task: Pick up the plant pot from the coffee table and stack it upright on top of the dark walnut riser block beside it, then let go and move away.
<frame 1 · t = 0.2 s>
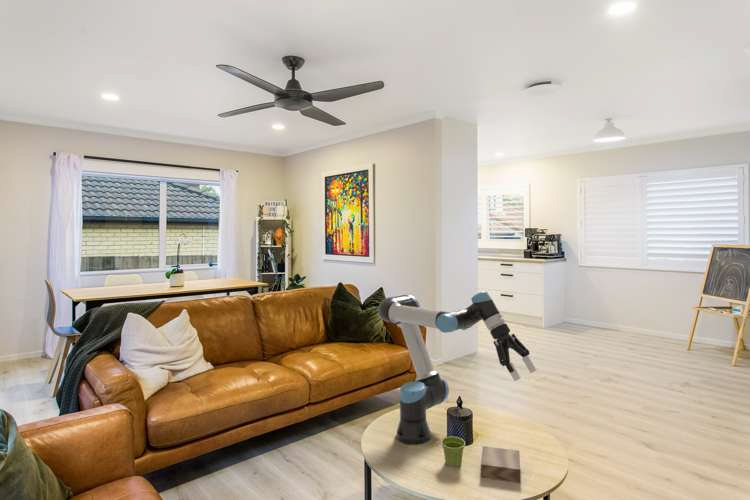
hand: (526, 375, 165), 35 cm above the table, tool tilted 35°, fingers open, 13 cm apart
walnut riser: (500, 470, 163), on the table
plant pot: (453, 464, 168), on the table
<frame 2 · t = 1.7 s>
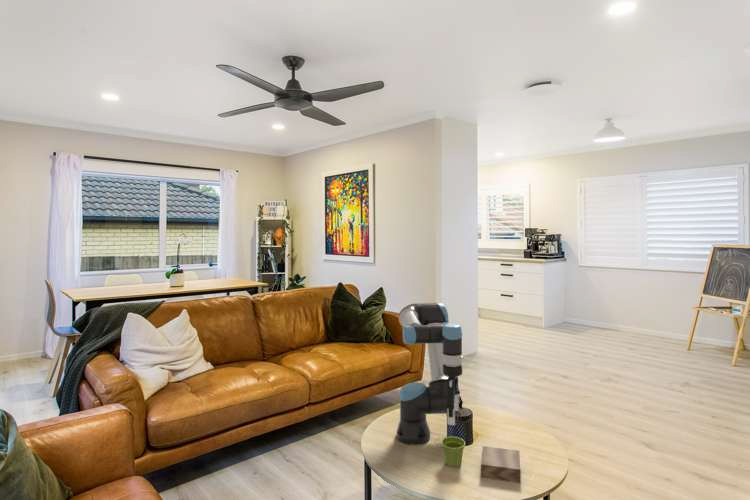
hand: (453, 417, 168), 19 cm above the table, tool pointing down, fingers open, 13 cm apart
nothing on the table moved.
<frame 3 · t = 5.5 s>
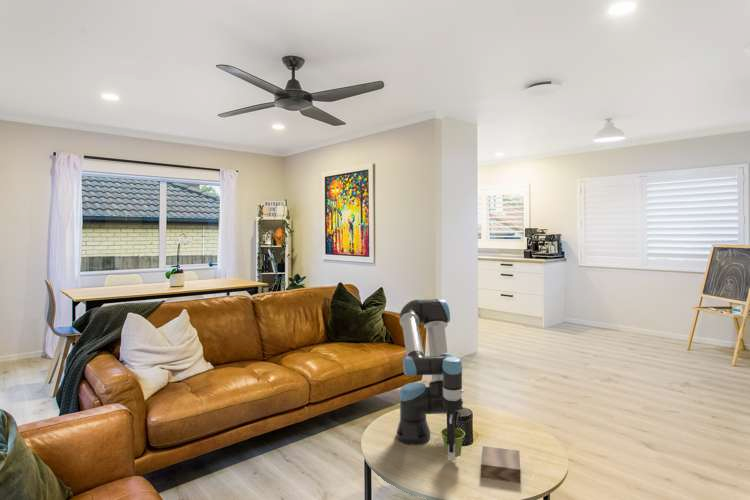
hand: (453, 453, 169), 4 cm above the table, tool pointing down, fingers closed on plant pot, 8 cm apart
plant pot: (452, 454, 169), point 3 cm above the table, touching gripper
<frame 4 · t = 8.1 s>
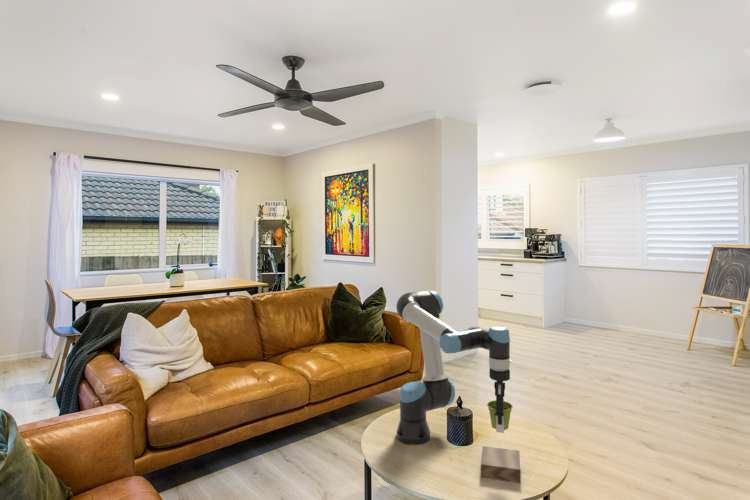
hand: (500, 426, 162), 17 cm above the table, tool pointing down, fingers closed on plant pot, 8 cm apart
plant pot: (500, 427, 162), point 16 cm above the table, touching gripper
when the fingers open (6 cm above the table, at t = 10.8 s): plant pot moves 4 cm, resting on walnut riser.
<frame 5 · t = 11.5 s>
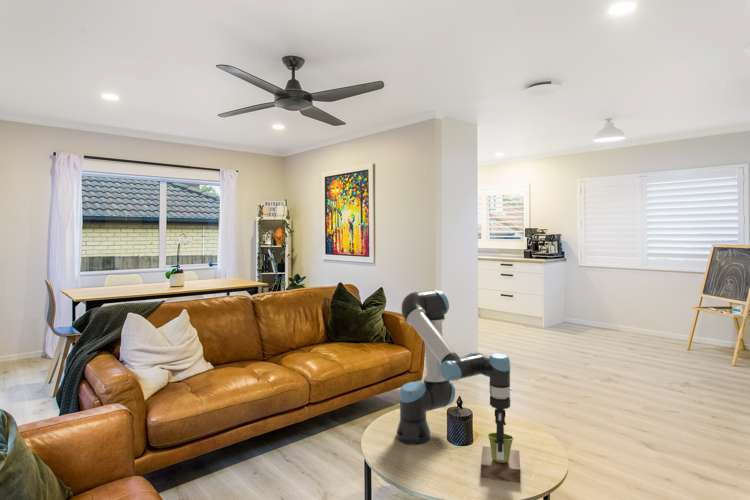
hand: (500, 450, 163), 8 cm above the table, tool pointing down, fingers open, 13 cm apart
plant pot: (500, 460, 159), point 5 cm above the table, touching gripper, walnut riser
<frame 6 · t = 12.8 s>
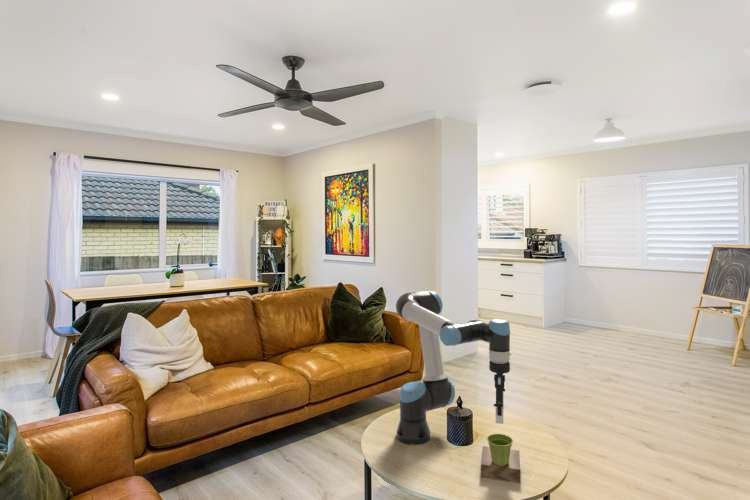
hand: (499, 415, 162), 21 cm above the table, tool pointing down, fingers open, 13 cm apart
plant pot: (500, 462, 159), point 5 cm above the table, touching walnut riser
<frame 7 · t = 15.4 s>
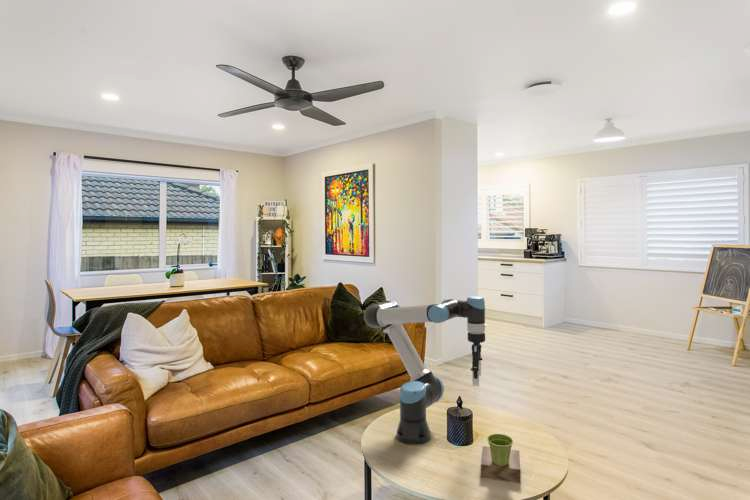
hand: (476, 380, 186), 27 cm above the table, tool pointing down, fingers open, 13 cm apart
nothing on the table moved.
at the end: plant pot inside the target area on the walnut riser (3.7 cm from its centre), point 4.8 cm above the walnut riser's base; plant pot tilted 0°; the gripper is holding nothing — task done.
